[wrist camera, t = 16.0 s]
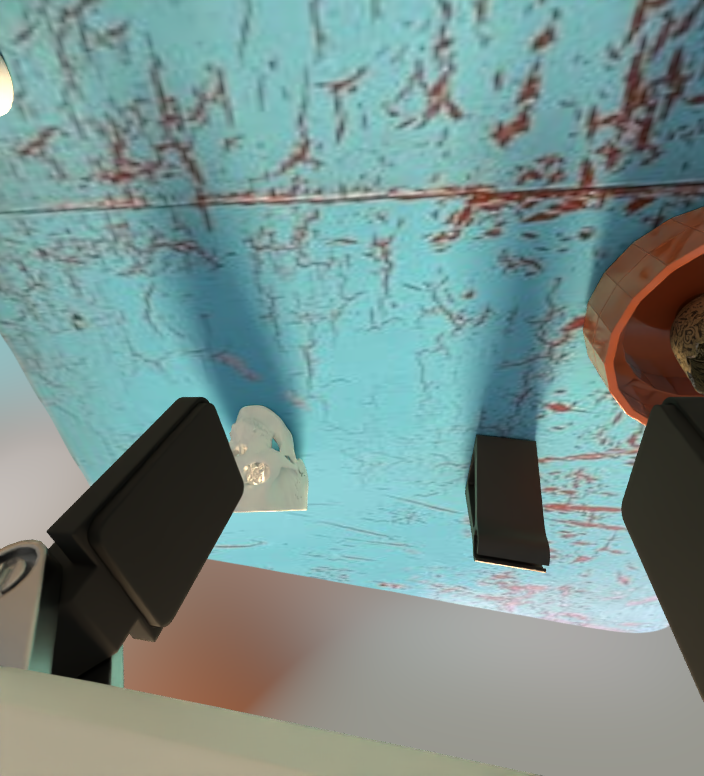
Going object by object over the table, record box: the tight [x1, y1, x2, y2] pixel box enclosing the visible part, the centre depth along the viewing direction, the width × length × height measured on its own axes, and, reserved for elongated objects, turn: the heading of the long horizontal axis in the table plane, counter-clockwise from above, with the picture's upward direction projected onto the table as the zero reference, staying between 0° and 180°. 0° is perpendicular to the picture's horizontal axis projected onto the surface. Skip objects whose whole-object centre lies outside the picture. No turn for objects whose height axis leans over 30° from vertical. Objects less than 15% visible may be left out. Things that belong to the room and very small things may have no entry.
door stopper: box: [465, 435, 550, 573], centre depth 40 cm, size 9×6×12 cm, turn 1°
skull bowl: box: [229, 405, 308, 512], centre depth 48 cm, size 10×14×12 cm
